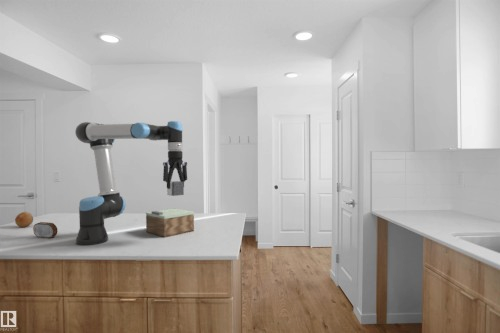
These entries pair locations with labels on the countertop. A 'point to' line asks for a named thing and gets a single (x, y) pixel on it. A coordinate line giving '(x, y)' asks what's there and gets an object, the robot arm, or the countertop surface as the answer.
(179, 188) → the block
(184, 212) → the lid
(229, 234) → the countertop surface
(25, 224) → the onion
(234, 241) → the countertop surface
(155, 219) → the storage box
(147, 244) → the countertop surface
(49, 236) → the tin
